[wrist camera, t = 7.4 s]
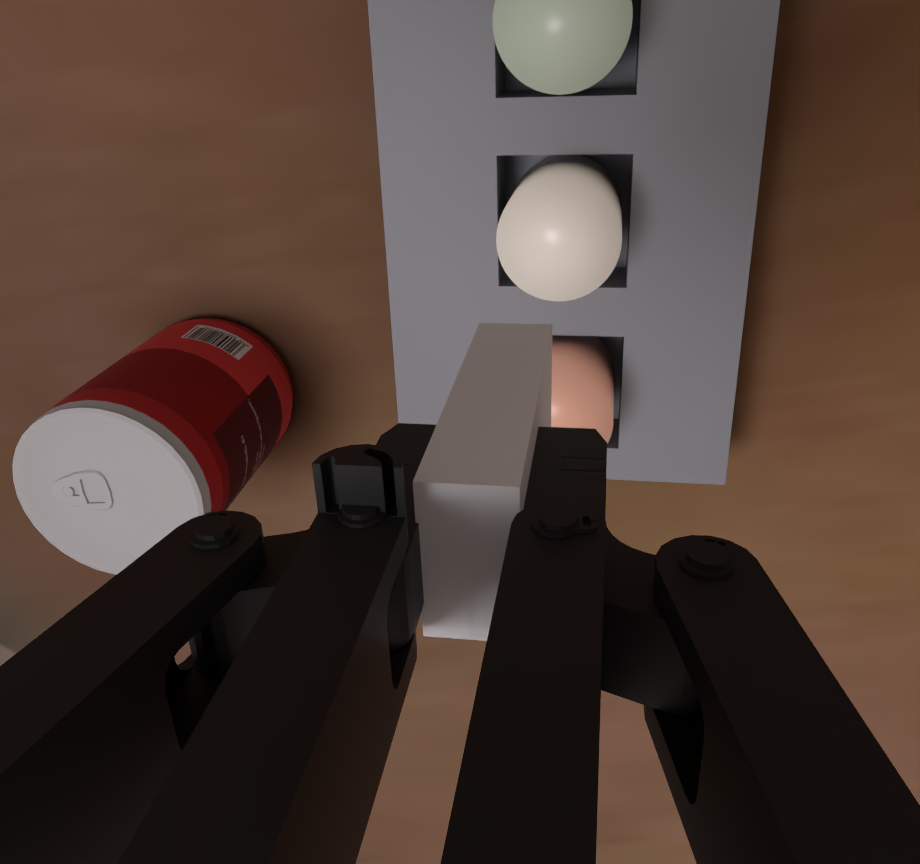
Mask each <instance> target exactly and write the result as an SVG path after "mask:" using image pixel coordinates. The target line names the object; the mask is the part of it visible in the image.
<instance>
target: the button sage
mask: <svg viewBox="0 0 920 864" xmlns="http://www.w3.org/2000/svg"><path fill="white" fill-rule="evenodd" d="M632 19H633V7H632V0H495V3H494V9H493V21H492V23H493V34H494V39H495V43H496V47H497V50H498V52H499V54H500V57H501V59H502V61H503V62H504V64H505V65H506V67H507V68H508V69H509V71H510V72H511V73H512V74H513V75H514V76H515V77H516V78H517V79H518V80H519V81H521V82H522V83H523V84H525V85H526V86H528V87H530V88H532V89H534V90H537V91H540V92H542V93H547V94H555V95H563V94H571V93H576V92H579V91H582V90H584V89H587V88H589V87H591V86H593V85H594V84H596V83H597V82H599V81H600V80H601V79H603V78H604V77H605V76H606V75H607V74H608V73H609V72H610V71H611V70H612V69H613V68H614V66H615V65H616V64H617V62H618V61H619V59H620V58H621V56H622V54H623V52H624V50H625V48H626V45H627V43H628V40H629V37H630V32H631V28H632Z"/></svg>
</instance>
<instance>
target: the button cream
mask: <svg viewBox="0 0 920 864" xmlns="http://www.w3.org/2000/svg"><path fill="white" fill-rule="evenodd" d="M496 246H497V252H498V257H499V260H500V262H501V265H502V267H503V269H504V271H505V272H506V274H507V275H508V277H509V278H510V279H511V280H512V281H513V283H514V284H516V285H517V286H518V287H519V288H520V289H522V290H523V291H525V292H526V293H528V294H530V295H532V296H534V297H537V298H540V299H543V300H548V301H569V300H574V299H577V298H581V297H583V296H585V295H587V294H589V293H591V292H592V291H594V290H596V289H597V288H598V287H599V286H601V285H602V284H603V283H604V282H605V281H606V280H607V278H608V277H609V276H610V274H611V273H612V272H613V270H614V268H615V266H616V264H617V261H618V259H619V256H620V252H621V246H622V203H621V197H620V193H619V190H618V187H617V185H616V183H615V181H614V180H613V178H612V176H611V175H610V174H609V173H608V172H607V170H605V169H604V168H603V167H602V166H601V165H599V164H598V163H597V162H595V161H593V160H591V159H589V158H586V157H583V156H579V155H556V156H552V157H549V158H546V159H544V160H542V161H540V162H539V163H537V164H536V165H534V166H533V167H532V168H531V169H530V170H529V171H527V173H526V174H525V175H524V176H523V177H522V179H521V181H520V182H519V184H518V185H517V187H516V189H515V191H514V193H513V194H512V196H511V198H510V200H509V201H508V203H507V205H506V207H505V208H504V210H503V212H502V215H501V217H500V220H499V223H498V227H497V233H496Z"/></svg>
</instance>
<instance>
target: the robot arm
mask: <svg viewBox="0 0 920 864" xmlns="http://www.w3.org/2000/svg"><path fill="white" fill-rule="evenodd" d="M551 397H552V324H510V323H479V325H478V328H477V330H476V332H475V335H474V337H473V339H472V342H471V344H470V347H469V349H468V351H467V354H466V356H465V358H464V361H463V363H462V366H461V368H460V370H459V373H458V375H457V377H456V380H455V382H454V385H453V387H452V389H451V392H450V394H449V396H448V399H447V401H446V404H445V406H444V408H443V411H442V413H441V415H440V418H439V420H438V423H437V425H434V424H408V423H399V424H397V425H396V426H394V427H393V428H391V429H390V430H388V431H387V432H385V433H384V434H383V435H381V437H380V438H379V440H378V442H377V444H376V445H370V444H362V445H349V446H345V447H341V448H336V449H333V450H331V451H329V452H327V453H325V454H322V455H320V456H319V457H318V458H317V459H316V460H315V461H314V462H313V463H312V468H313V476H314V483H315V491H316V499H317V506H318V514H317V516H316V518H315V519H314V521H313V523H312V525H311V526H310V528H309V529H308V530H305V531H300V532H295V533H289V534H281V535H274V536H266V537H263V532H262V526H261V523H260V522H259V521H258V520H257V519H256V518H255V517H254V516H252V515H249V514H246V513H244V512H237V511H219V512H217V511H214V512H209V513H206V514H204V515H201V516H198V517H195V518H192V519H190V520H188V521H187V522H185V523H183V524H182V525H180V526H178V527H177V528H176V529H174V530H173V531H172V532H170V533H169V534H168V535H167V536H165V537H164V538H163V539H162V540H160V541H159V542H158V543H156V544H155V545H154V546H153V547H151V548H150V549H149V550H148V551H146V552H145V553H144V554H142V555H141V556H140V557H139V558H137V559H136V560H135V561H134V562H132V563H131V564H130V565H128V566H127V567H126V568H125V569H123V570H122V571H121V572H120V573H118V574H117V575H116V576H114V577H113V578H112V579H111V580H109V581H108V582H107V583H106V584H104V585H103V586H102V587H100V588H99V589H98V590H97V591H95V592H94V593H93V594H92V595H90V596H89V597H88V598H86V599H85V600H84V601H83V602H81V603H80V604H79V605H78V606H76V607H75V608H74V609H72V610H71V611H70V612H69V613H67V614H66V615H65V616H64V617H62V618H61V619H60V620H58V621H57V622H56V623H55V624H53V625H52V626H51V627H50V628H48V629H47V630H46V631H45V632H43V633H42V634H41V635H39V636H38V637H37V638H36V639H34V640H33V641H32V642H31V643H29V644H28V645H27V646H25V647H24V648H23V649H22V650H20V651H19V652H18V653H17V654H15V655H14V656H13V657H12V658H10V659H9V660H8V661H6V662H5V663H4V664H3V665H1V666H0V864H355V863H356V860H357V857H358V853H359V850H360V847H361V843H362V840H363V837H364V833H365V830H366V827H367V823H368V820H369V816H370V813H371V810H372V806H373V803H374V800H375V796H376V793H377V790H378V786H379V783H380V780H381V776H382V773H383V770H384V766H385V763H386V760H387V756H388V753H389V750H390V746H391V743H392V740H393V736H394V733H395V729H396V726H397V723H398V719H399V716H400V713H401V709H402V706H403V703H404V699H405V696H406V693H407V689H408V686H409V683H410V679H411V676H412V673H413V669H414V666H415V663H416V659H417V644H416V631H415V629H416V626H417V623H418V620H419V617H420V614H421V611H422V621H423V635H424V636H431V637H444V638H456V639H469V640H482V641H487V643H486V648H485V652H484V657H483V662H482V667H481V672H480V676H479V681H478V686H477V691H476V696H475V701H474V705H473V710H472V715H471V720H470V725H469V729H468V734H467V739H466V744H465V749H464V754H463V758H462V763H461V768H460V773H459V778H458V782H457V787H456V792H455V797H454V802H453V807H452V811H451V816H450V821H449V826H448V831H447V836H446V840H445V845H444V850H443V855H442V860H441V864H596V834H597V800H598V766H599V732H600V699H601V690H603V691H606V692H608V693H611V694H614V695H617V696H620V697H623V698H626V699H629V700H632V701H635V702H637V703H640V704H643V705H644V714H645V721H646V723H647V726H648V729H649V732H650V735H651V737H652V740H653V743H654V746H655V748H656V751H657V754H658V757H659V760H660V762H661V765H662V768H663V771H664V774H665V776H666V779H667V782H668V785H669V788H670V790H671V793H672V796H673V799H674V802H675V804H676V807H677V810H678V813H679V815H680V818H681V821H682V824H683V827H684V829H685V832H686V835H687V838H688V841H689V843H690V846H691V849H692V852H693V855H694V857H695V860H696V863H697V864H920V805H919V804H918V802H917V801H916V799H915V798H914V796H913V795H912V793H911V792H910V790H909V789H908V787H907V785H906V784H905V782H904V781H903V779H902V778H901V776H900V775H899V773H898V772H897V770H896V769H895V767H894V766H893V764H892V763H891V761H890V760H889V758H888V757H887V755H886V754H885V752H884V751H883V749H882V748H881V746H880V745H879V743H878V742H877V740H876V739H875V737H874V736H873V734H872V733H871V731H870V730H869V728H868V727H867V725H866V724H865V722H864V721H863V719H862V717H861V716H860V714H859V713H858V711H857V710H856V708H855V707H854V705H853V704H852V702H851V701H850V699H849V698H848V696H847V695H846V693H845V692H844V690H843V689H842V687H841V686H840V684H839V683H838V681H837V680H836V678H835V677H834V675H833V674H832V672H831V671H830V669H829V668H828V666H827V665H826V663H825V662H824V660H823V659H822V657H821V656H820V654H819V653H818V651H817V649H816V648H815V646H814V645H813V643H812V642H811V640H810V639H809V637H808V636H807V634H806V633H805V631H804V630H803V628H802V627H801V625H800V624H799V622H798V621H797V619H796V618H795V616H794V615H793V613H792V612H791V610H790V609H789V607H788V606H787V604H786V603H785V601H784V600H783V598H782V597H781V595H780V594H779V592H778V591H777V589H776V588H775V586H774V585H773V583H772V581H771V580H770V578H769V577H768V575H767V574H766V572H765V571H764V569H763V568H762V566H761V565H760V563H759V562H758V560H757V559H756V558H755V557H754V556H753V555H752V554H751V553H750V552H749V551H748V550H747V549H745V548H743V547H741V546H739V545H737V544H735V543H733V542H731V541H729V540H725V539H722V538H717V537H713V536H698V535H690V536H685V537H680V538H675V539H673V540H671V541H669V542H667V543H665V544H664V545H662V546H661V547H660V549H659V551H658V552H657V554H656V555H653V554H649V553H645V552H642V551H639V550H637V549H634V548H631V547H629V546H627V545H625V544H624V543H622V542H620V541H619V540H618V539H616V538H615V537H614V536H613V535H612V534H611V533H610V531H609V530H608V528H607V526H606V521H605V505H606V466H607V442H606V441H605V440H604V439H603V437H602V436H601V435H600V434H599V432H598V431H597V430H596V429H589V428H564V427H551ZM188 641H189V645H190V649H191V653H192V654H191V655H190V656H189V657H188V658H187V659H186V660H185V661H184V662H182V663H181V664H179V665H177V664H176V662H175V658H174V656H175V655H176V653H177V652H178V650H179V649H180V648H181V647H183V646H184V645H185V644H186V643H187V642H188Z"/></svg>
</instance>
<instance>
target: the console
mask: <svg viewBox="0 0 920 864" xmlns="http://www.w3.org/2000/svg"><path fill="white" fill-rule="evenodd" d="M494 3H495V0H368V13H369V27H370V40H371V54H372V68H373V81H374V95H375V109H376V122H377V136H378V149H379V163H380V177H381V190H382V204H383V218H384V231H385V245H386V259H387V272H388V286H389V300H390V313H391V327H392V340H393V354H394V368H395V381H396V395H397V409H398V422H399V423H408V424H434V425H437V423H438V420H439V418H440V415H441V413H442V411H443V408H444V406H445V404H446V401H447V399H448V396H449V394H450V392H451V389H452V387H453V385H454V382H455V380H456V377H457V375H458V373H459V370H460V368H461V366H462V363H463V361H464V358H465V356H466V354H467V351H468V349H469V347H470V344H471V342H472V339H473V337H474V335H475V332H476V330H477V328H478V325H479V323H510V324H552V335H566V336H597V337H598V338H599V339H600V340H601V341H602V342H603V343H604V345H605V346H606V347H607V349H608V351H609V353H610V355H611V357H612V361H613V365H614V415H613V430H612V434H611V437H610V440H609V442H608V444H607V466H606V479H615V480H635V481H656V482H676V483H697V484H717V485H725V481H726V472H727V463H728V455H729V446H730V437H731V428H732V419H733V411H734V402H735V393H736V384H737V376H738V367H739V358H740V349H741V341H742V332H743V323H744V314H745V306H746V297H747V288H748V279H749V271H750V262H751V253H752V244H753V235H754V227H755V218H756V209H757V200H758V192H759V183H760V174H761V165H762V157H763V148H764V139H765V130H766V122H767V113H768V104H769V95H770V87H771V78H772V69H773V60H774V52H775V43H776V34H777V25H778V16H779V8H780V0H632V7H633V19H632V28H631V32H630V37H629V40H628V43H627V45H626V48H625V50H624V52H623V54H622V56H621V58H620V59H619V61H618V62H617V64H616V65H615V66H614V68H613V69H612V70H611V71H610V72H609V73H608V74H607V75H606V76H605V77H604V78H603V79H601V80H600V81H599V82H597V83H596V84H594V85H593V86H591V87H589V88H587V89H584V90H582V91H579V92H576V93H571V94H563V95H555V94H547V93H542V92H540V91H537V90H534V89H532V88H530V87H528V86H526V85H525V84H523V83H522V82H521V81H519V80H518V79H517V78H516V77H515V76H514V75H513V74H512V73H511V72H510V71H509V69H508V68H507V67H506V65H505V64H504V62H503V61H502V59H501V57H500V54H499V52H498V50H497V47H496V43H495V39H494V34H493V23H492V21H493V9H494ZM556 155H579V156H583V157H586V158H589V159H591V160H593V161H595V162H597V163H598V164H599V165H601V166H602V167H603V168H604V169H605V170H607V172H608V173H609V174H610V175H611V176H612V178H613V180H614V181H615V183H616V185H617V187H618V190H619V193H620V197H621V203H622V246H621V252H620V256H619V259H618V261H617V264H616V266H615V268H614V270H613V272H612V273H611V274H610V276H609V277H608V278H607V280H606V281H605V282H604V283H603V284H602V285H601V286H599V287H598V288H597V289H596V290H594V291H592V292H591V293H589V294H587V295H585V296H583V297H581V298H577V299H574V300H569V301H548V300H543V299H540V298H537V297H534V296H532V295H530V294H528V293H526V292H525V291H523V290H522V289H520V288H519V287H518V286H517V285H516V284H514V283H513V281H512V280H511V279H510V278H509V277H508V275H507V274H506V272H505V271H504V269H503V267H502V265H501V262H500V260H499V257H498V252H497V246H496V233H497V227H498V223H499V220H500V217H501V215H502V212H503V210H504V208H505V207H506V205H507V203H508V201H509V200H510V198H511V196H512V194H513V193H514V191H515V189H516V187H517V185H518V184H519V182H520V181H521V179H522V177H523V176H524V175H525V174H526V173H527V171H529V170H530V169H531V168H532V167H533V166H534V165H536V164H537V163H539V162H540V161H542V160H544V159H546V158H549V157H552V156H556Z"/></svg>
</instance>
